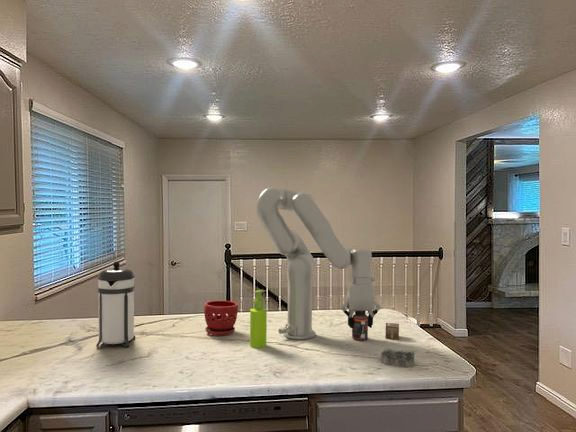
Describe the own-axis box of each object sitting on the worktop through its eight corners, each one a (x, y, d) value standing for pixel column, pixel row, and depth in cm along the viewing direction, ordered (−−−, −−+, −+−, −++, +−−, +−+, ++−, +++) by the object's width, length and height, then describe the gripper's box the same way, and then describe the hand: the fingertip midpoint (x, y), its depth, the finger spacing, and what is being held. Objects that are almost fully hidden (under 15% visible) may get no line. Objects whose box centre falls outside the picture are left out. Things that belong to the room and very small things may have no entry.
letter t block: (398, 340, 176) (398, 326, 176) (385, 339, 177) (385, 325, 177) (398, 336, 181) (398, 323, 181) (385, 335, 182) (385, 322, 182)
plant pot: (228, 339, 175) (229, 307, 174) (198, 335, 179) (198, 304, 178) (243, 330, 187) (243, 300, 187) (214, 327, 191) (214, 298, 191)
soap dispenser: (270, 343, 170) (270, 289, 169) (261, 349, 163) (262, 292, 163) (256, 341, 172) (256, 288, 171) (247, 346, 166) (247, 291, 165)
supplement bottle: (367, 341, 173) (367, 311, 173) (351, 340, 175) (351, 311, 174) (367, 337, 179) (368, 308, 179) (352, 336, 180) (352, 307, 180)
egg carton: (379, 364, 150) (379, 352, 150) (383, 357, 157) (383, 345, 156) (413, 369, 146) (413, 356, 145) (415, 361, 153) (415, 349, 152)
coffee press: (148, 343, 169) (148, 261, 168) (106, 353, 157) (105, 265, 156) (125, 333, 181) (125, 257, 180) (84, 342, 169) (84, 260, 168)
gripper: (379, 278, 181) (378, 324, 182) (336, 279, 179) (335, 325, 179) (386, 282, 174) (385, 329, 174) (341, 282, 171) (340, 330, 172)
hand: (360, 326), depth 177 cm, fingers open, 6 cm apart
